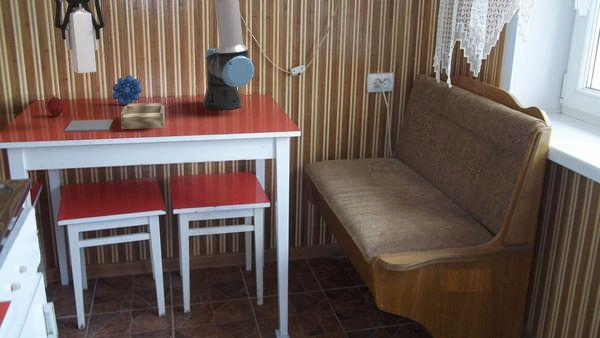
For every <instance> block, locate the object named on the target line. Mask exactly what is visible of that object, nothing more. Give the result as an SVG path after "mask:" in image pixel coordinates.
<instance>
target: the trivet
mask: <svg viewBox="0 0 600 338" xmlns="http://www.w3.org/2000/svg"><path fill="white" fill-rule="evenodd" d="M113 123H114V119H88V120H87V119H83V120H82V119H81V120H80V119H79V120H71V121H70V122H69V124H68V126H66V128H65V129H64V133H75V132H76V133H77V132H78V133H80V132H81V133H83V132H109V131H110V130H111V127H112V124H113Z"/></svg>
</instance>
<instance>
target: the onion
mask: <svg viewBox="0 0 600 338" xmlns="http://www.w3.org/2000/svg"><path fill="white" fill-rule="evenodd" d="M46 109H47V111H48V113H49V114H51V115H52V116H54V117H56V118H57V117H59V115H61V114H62V113H63V112H64V110H65V104H64V102H63V101H62V99H61V98H59V97H57V96H56V94H53V95H52V97H51V98H50V99H49V100H48V101H47V104H46Z"/></svg>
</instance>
